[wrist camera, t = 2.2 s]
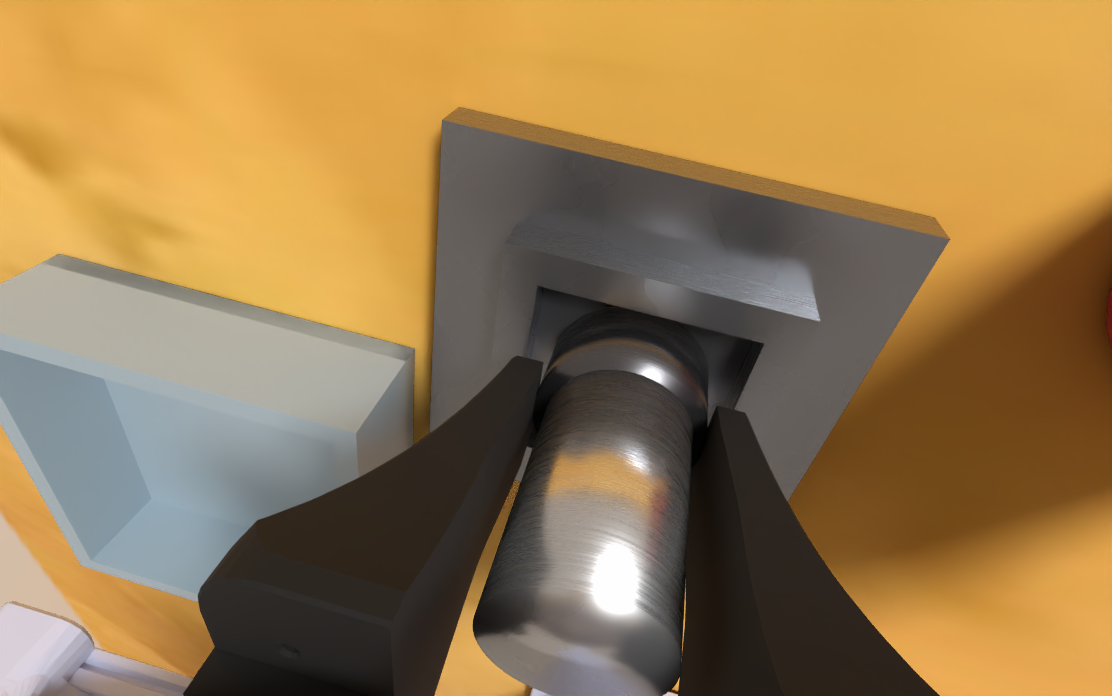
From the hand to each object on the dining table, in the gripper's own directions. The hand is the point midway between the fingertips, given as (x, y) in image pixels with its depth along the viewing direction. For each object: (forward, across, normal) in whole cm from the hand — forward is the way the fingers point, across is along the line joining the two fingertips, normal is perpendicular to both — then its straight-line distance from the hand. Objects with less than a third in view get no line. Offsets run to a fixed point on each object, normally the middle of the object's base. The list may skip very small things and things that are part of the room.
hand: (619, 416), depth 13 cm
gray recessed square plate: (+3, 0, 0) cm, 3 cm away
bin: (+3, +12, +7) cm, 14 cm away
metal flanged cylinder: (+2, 0, 0) cm, 2 cm away
